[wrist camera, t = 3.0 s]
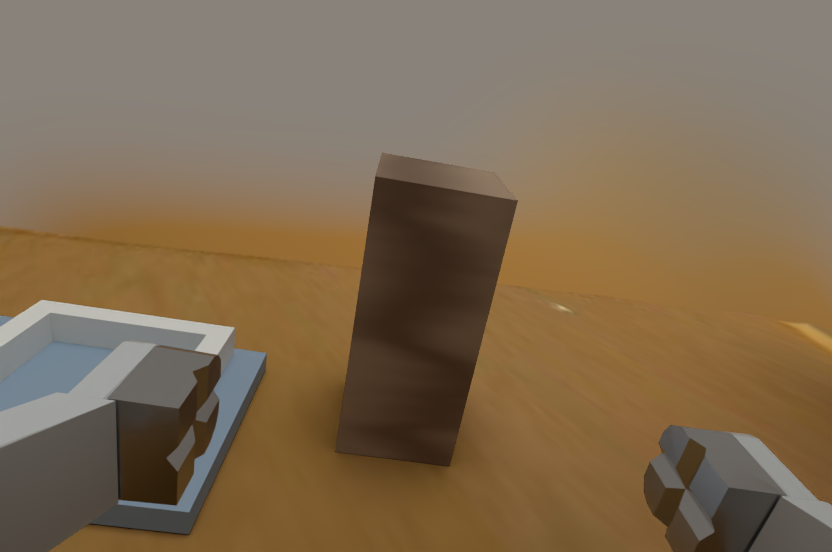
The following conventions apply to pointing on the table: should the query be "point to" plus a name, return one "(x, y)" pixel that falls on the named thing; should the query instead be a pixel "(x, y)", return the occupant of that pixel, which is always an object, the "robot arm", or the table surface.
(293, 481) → the table surface
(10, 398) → the baseplate
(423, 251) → the pillar
